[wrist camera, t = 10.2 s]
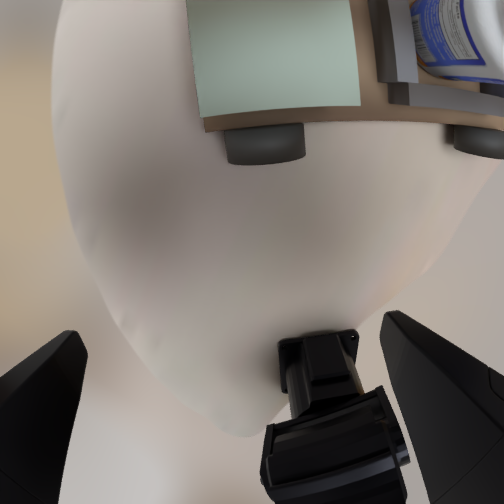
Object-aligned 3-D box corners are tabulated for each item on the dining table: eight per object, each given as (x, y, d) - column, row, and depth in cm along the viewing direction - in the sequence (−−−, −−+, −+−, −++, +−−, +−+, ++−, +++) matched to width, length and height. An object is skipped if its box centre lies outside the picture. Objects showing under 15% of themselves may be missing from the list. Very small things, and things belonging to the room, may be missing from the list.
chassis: (491, 147, 17) (553, 172, 11) (212, 156, 18) (197, 186, 12) (473, -27, 11) (529, -43, 5) (186, -56, 11) (165, -110, 5)
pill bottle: (476, 31, 12) (592, 29, 4) (456, 96, 14) (582, 123, 6) (410, -18, 11) (520, -62, 3) (387, 50, 13) (512, 31, 5)
